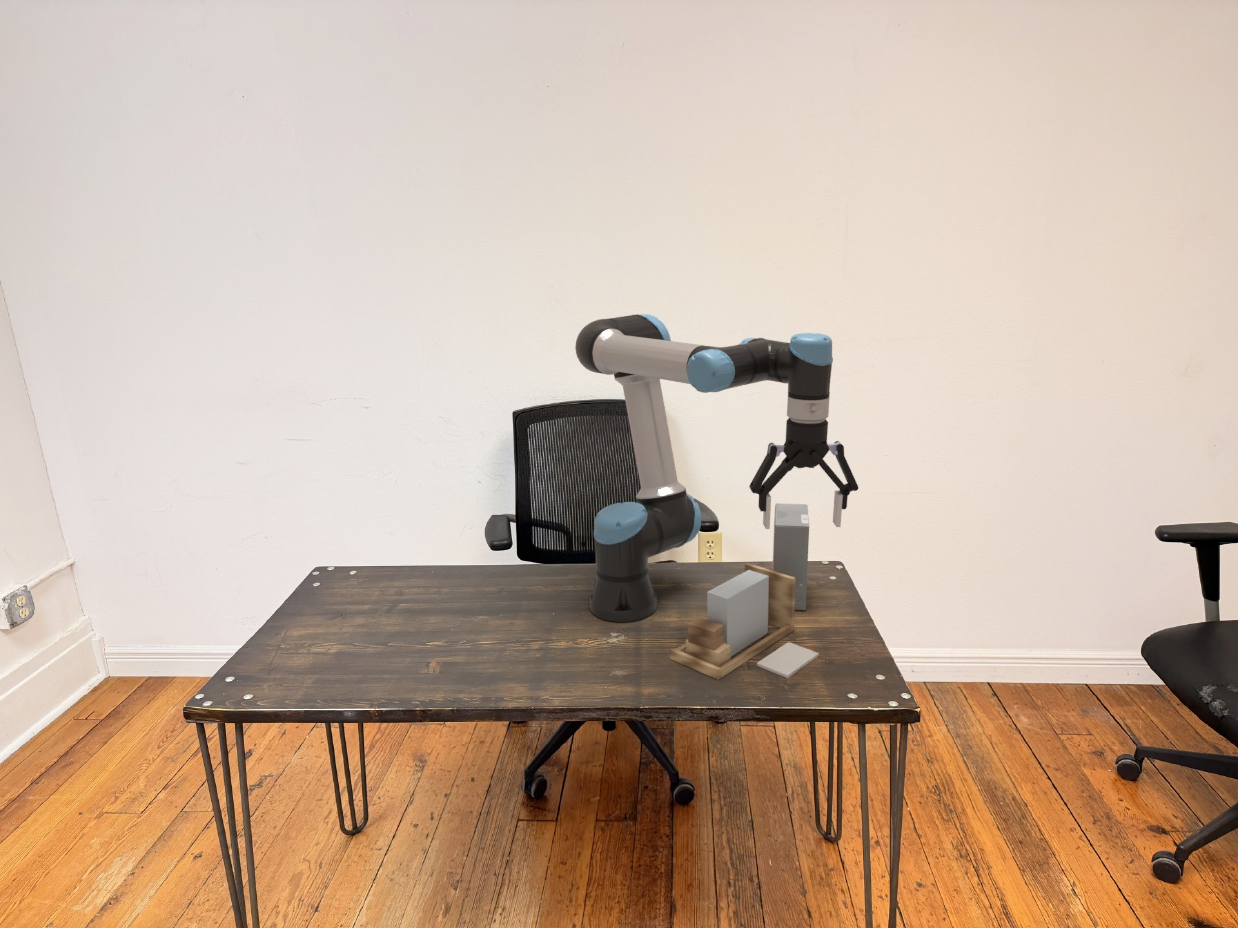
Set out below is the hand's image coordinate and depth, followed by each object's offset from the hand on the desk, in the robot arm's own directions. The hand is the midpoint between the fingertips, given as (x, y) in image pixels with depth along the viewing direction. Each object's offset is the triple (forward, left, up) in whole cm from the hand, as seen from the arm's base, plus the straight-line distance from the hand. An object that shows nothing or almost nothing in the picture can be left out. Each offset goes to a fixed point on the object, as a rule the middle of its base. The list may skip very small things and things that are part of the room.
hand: (801, 525), depth 158 cm
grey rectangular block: (-11, -5, -27) cm, 29 cm away
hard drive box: (-15, +20, -27) cm, 36 cm away
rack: (-11, -7, -26) cm, 29 cm away
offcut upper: (-11, -16, -23) cm, 30 cm away
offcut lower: (-11, -15, -27) cm, 33 cm away
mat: (+1, -5, -26) cm, 27 cm away
